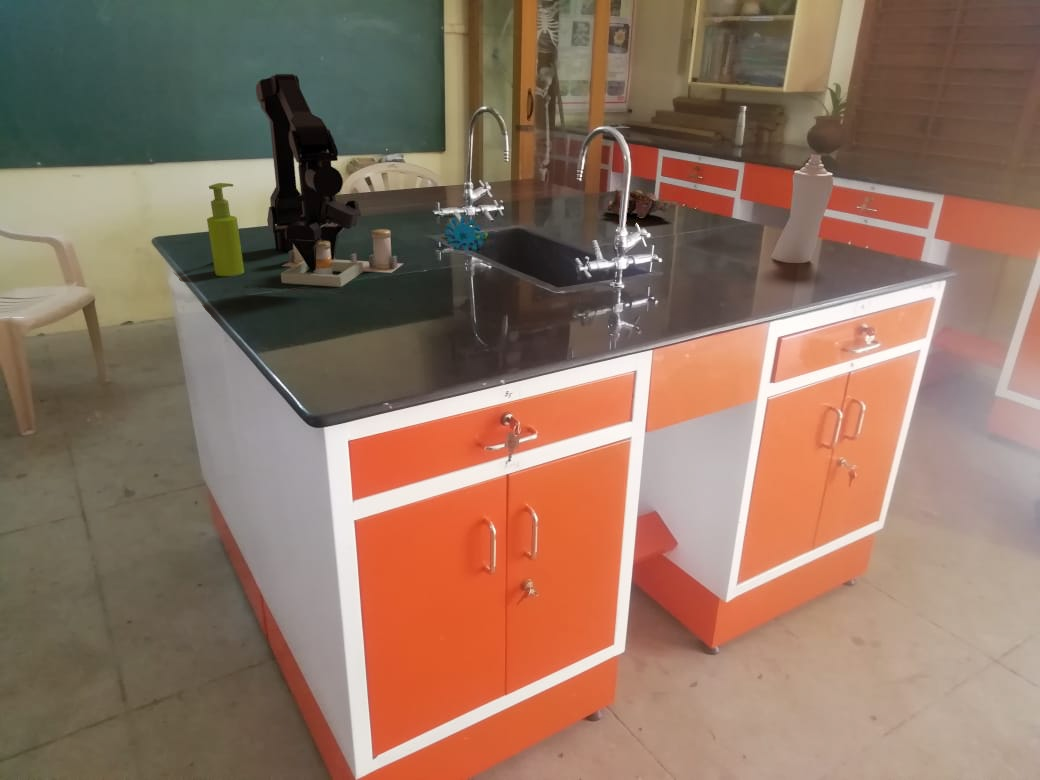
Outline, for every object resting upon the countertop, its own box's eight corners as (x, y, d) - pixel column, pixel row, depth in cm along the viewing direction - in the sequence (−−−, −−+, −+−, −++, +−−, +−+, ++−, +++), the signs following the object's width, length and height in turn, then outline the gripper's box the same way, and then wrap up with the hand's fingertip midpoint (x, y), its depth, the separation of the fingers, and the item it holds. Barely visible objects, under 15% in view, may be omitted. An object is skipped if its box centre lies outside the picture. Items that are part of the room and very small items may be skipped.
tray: (282, 289, 159) (280, 273, 157) (307, 274, 170) (306, 259, 168) (341, 293, 157) (340, 276, 155) (363, 278, 167) (362, 262, 166)
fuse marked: (311, 282, 161) (307, 244, 158) (319, 277, 165) (315, 240, 162) (328, 283, 161) (325, 245, 158) (336, 278, 164) (333, 241, 161)
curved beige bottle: (822, 258, 188) (840, 152, 178) (818, 268, 179) (837, 157, 169) (773, 253, 193) (789, 149, 183) (767, 262, 184) (782, 154, 174)
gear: (446, 247, 187) (444, 213, 191) (441, 260, 193) (439, 226, 196) (490, 251, 191) (487, 217, 194) (484, 263, 196) (481, 230, 200)
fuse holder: (282, 272, 171) (280, 254, 170) (298, 263, 178) (296, 246, 177) (391, 279, 167) (390, 261, 165) (403, 270, 174) (402, 252, 172)
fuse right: (371, 268, 169) (369, 232, 166) (378, 264, 173) (375, 228, 169) (388, 269, 168) (386, 233, 165) (395, 265, 172) (393, 229, 169)
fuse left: (291, 264, 172) (287, 228, 169) (299, 259, 176) (295, 224, 173) (307, 265, 172) (304, 229, 168) (315, 260, 175) (312, 225, 172)
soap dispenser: (253, 275, 168) (241, 182, 160) (233, 283, 162) (219, 187, 154) (231, 273, 170) (218, 180, 162) (210, 281, 164) (195, 185, 156)
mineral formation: (683, 219, 225) (687, 186, 225) (638, 207, 218) (642, 173, 218) (637, 230, 245) (641, 199, 245) (595, 219, 238) (599, 188, 238)
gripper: (333, 198, 145) (340, 278, 152) (369, 183, 162) (374, 256, 169) (279, 196, 147) (288, 275, 154) (320, 181, 164) (327, 253, 170)
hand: (322, 264), depth 162 cm, fingers open, 9 cm apart
